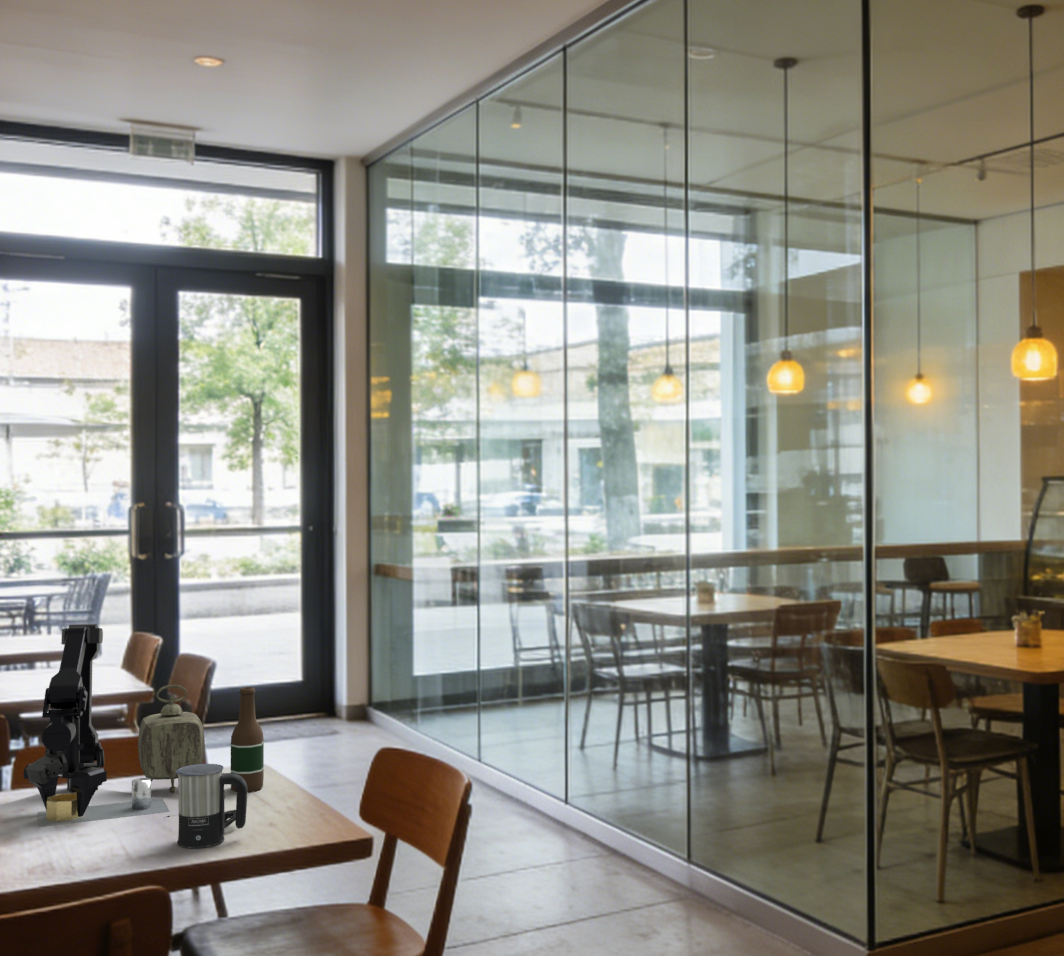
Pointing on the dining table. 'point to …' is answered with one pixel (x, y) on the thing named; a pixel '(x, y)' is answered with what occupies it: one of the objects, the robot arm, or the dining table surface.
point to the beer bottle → (248, 744)
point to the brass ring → (62, 807)
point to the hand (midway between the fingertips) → (64, 813)
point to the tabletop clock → (170, 741)
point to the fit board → (118, 806)
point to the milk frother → (207, 804)
